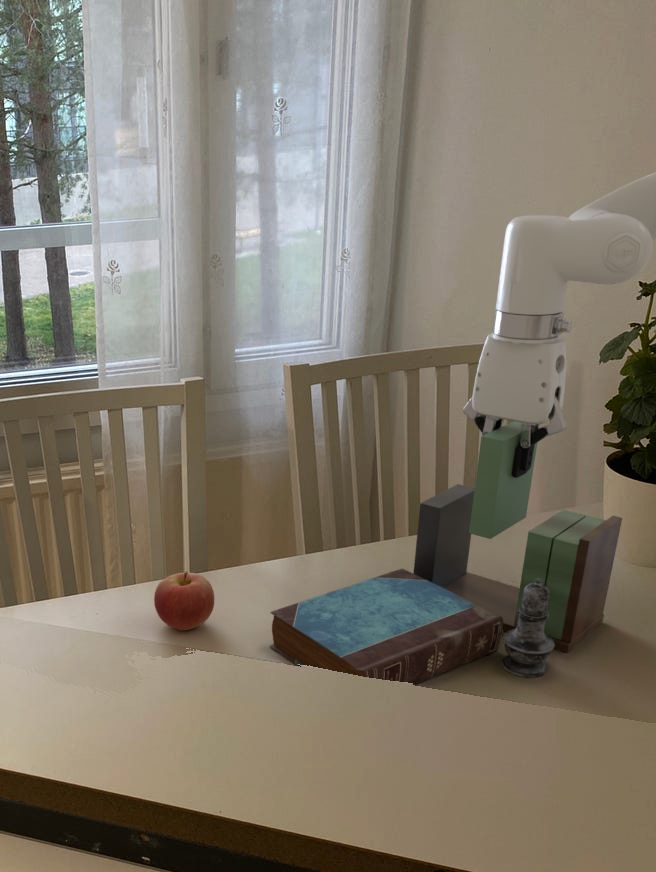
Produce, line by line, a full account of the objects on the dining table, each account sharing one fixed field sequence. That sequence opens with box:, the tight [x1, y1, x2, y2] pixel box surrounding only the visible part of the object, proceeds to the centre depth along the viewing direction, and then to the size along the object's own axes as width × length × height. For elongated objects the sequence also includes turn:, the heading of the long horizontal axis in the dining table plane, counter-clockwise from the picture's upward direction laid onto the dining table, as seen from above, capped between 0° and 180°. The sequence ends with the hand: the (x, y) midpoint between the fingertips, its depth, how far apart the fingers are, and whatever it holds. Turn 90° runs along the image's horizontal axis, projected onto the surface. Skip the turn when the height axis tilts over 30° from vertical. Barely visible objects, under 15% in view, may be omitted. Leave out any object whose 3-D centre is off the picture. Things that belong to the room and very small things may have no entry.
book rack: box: [413, 483, 623, 654], centre depth 121 cm, size 11×24×15 cm, turn 46°
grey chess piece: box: [500, 577, 554, 679], centre depth 108 cm, size 6×6×12 cm
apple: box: [153, 571, 215, 631], centre depth 121 cm, size 8×8×8 cm
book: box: [269, 568, 503, 685], centre depth 114 cm, size 23×18×5 cm
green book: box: [469, 421, 538, 540], centre depth 118 cm, size 10×3×13 cm, turn 136°
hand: (505, 470), depth 117 cm, fingers closed on green book, 3 cm apart
